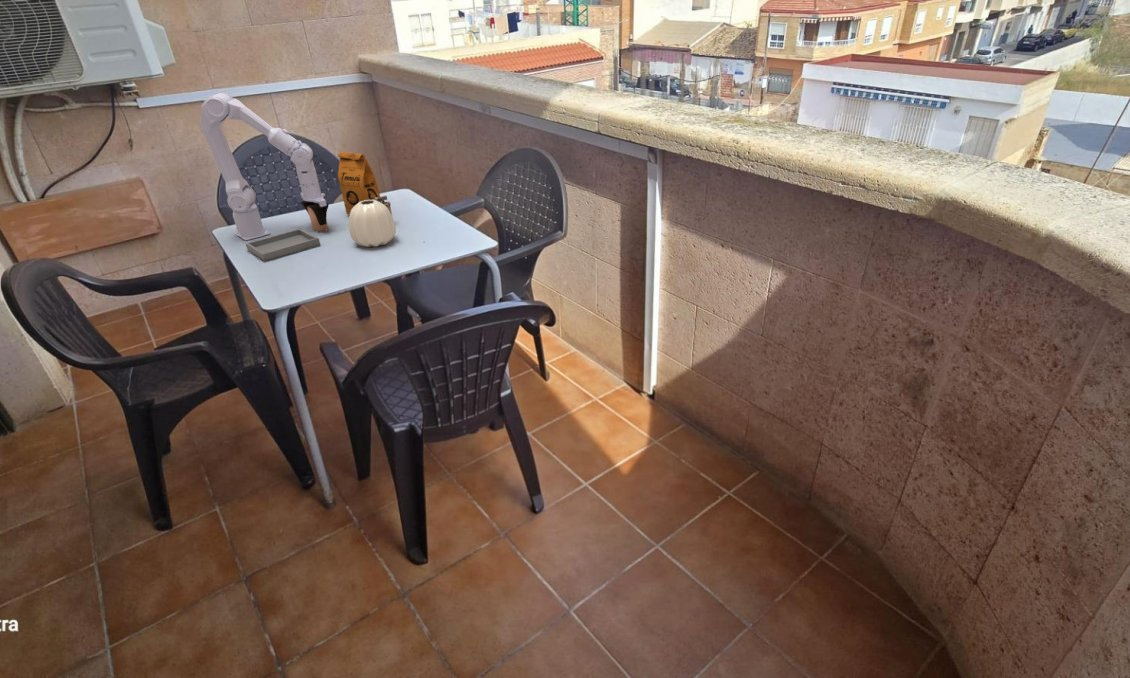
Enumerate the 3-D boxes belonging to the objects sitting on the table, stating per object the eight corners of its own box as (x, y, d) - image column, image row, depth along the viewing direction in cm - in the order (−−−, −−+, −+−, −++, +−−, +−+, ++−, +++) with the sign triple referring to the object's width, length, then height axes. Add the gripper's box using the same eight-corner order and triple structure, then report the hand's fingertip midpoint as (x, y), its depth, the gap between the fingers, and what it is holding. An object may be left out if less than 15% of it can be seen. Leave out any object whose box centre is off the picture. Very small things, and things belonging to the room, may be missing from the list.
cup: (310, 229, 198) (304, 206, 193) (324, 225, 201) (318, 202, 196) (317, 232, 194) (311, 209, 190) (331, 228, 198) (325, 205, 193)
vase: (385, 252, 178) (377, 210, 171) (344, 249, 181) (335, 208, 174) (404, 236, 190) (398, 196, 183) (366, 233, 192) (358, 194, 186)
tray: (247, 250, 182) (245, 243, 180) (302, 235, 192) (300, 228, 191) (264, 262, 174) (262, 254, 172) (320, 245, 184) (318, 238, 183)
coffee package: (368, 221, 203) (355, 157, 192) (342, 216, 208) (328, 154, 197) (388, 212, 211) (376, 151, 199) (362, 208, 216) (350, 148, 205)
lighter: (377, 230, 195) (371, 201, 190) (370, 228, 197) (365, 199, 192) (396, 223, 201) (391, 195, 195) (390, 221, 202) (384, 193, 197)
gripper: (331, 184, 187) (340, 224, 194) (311, 176, 196) (320, 215, 203) (310, 189, 183) (320, 230, 190) (290, 181, 192) (301, 220, 199)
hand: (319, 222), depth 196 cm, fingers closed on cup, 5 cm apart
